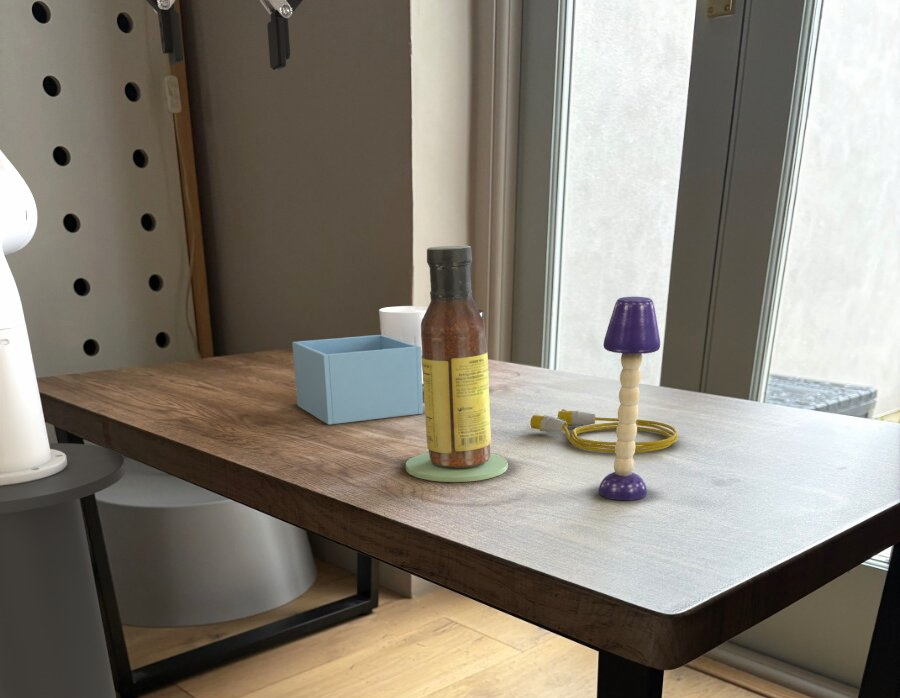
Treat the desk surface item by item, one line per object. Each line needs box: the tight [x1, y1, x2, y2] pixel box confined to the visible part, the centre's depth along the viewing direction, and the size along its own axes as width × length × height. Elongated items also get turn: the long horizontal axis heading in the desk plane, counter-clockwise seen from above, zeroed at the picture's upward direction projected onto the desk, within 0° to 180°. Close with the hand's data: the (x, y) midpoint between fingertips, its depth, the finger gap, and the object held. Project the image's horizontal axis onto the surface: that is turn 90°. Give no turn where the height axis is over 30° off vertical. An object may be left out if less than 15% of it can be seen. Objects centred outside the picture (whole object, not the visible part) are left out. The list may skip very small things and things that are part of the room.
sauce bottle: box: [421, 245, 492, 469], centre depth 87 cm, size 6×6×20 cm
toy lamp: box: [598, 296, 661, 501], centre depth 79 cm, size 5×5×17 cm
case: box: [292, 334, 424, 426], centre depth 115 cm, size 12×12×8 cm
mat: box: [405, 452, 509, 483], centre depth 91 cm, size 10×10×1 cm
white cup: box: [378, 305, 429, 385], centre depth 131 cm, size 8×8×10 cm
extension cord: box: [530, 409, 679, 454], centre depth 101 cm, size 12×16×2 cm
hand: (228, 65), depth 87 cm, fingers open, 9 cm apart
